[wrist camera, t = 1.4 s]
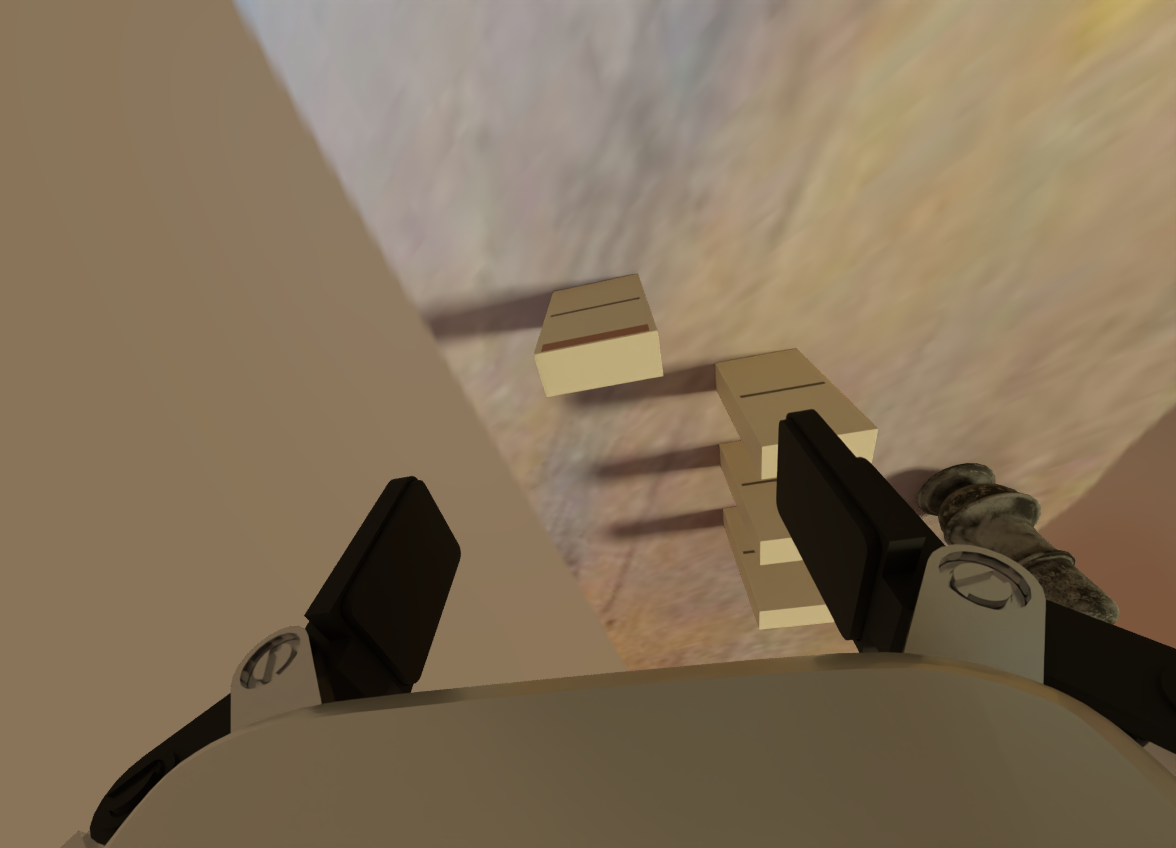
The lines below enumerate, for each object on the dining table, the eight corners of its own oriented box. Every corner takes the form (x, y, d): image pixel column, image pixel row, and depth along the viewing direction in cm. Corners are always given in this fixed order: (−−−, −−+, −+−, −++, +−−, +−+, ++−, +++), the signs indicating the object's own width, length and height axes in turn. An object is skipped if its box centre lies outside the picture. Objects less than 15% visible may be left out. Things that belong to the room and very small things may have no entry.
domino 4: (722, 508, 34) (759, 611, 26) (787, 499, 33) (844, 602, 25) (723, 525, 35) (759, 629, 27) (786, 517, 34) (840, 621, 26)
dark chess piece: (903, 520, 34) (1033, 674, 24) (926, 463, 31) (1087, 615, 21) (980, 514, 33) (1146, 670, 23) (1012, 456, 30) (1219, 608, 20)
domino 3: (719, 443, 30) (760, 541, 23) (791, 432, 29) (858, 528, 22) (720, 465, 31) (760, 565, 24) (789, 455, 30) (853, 554, 23)
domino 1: (552, 291, 24) (533, 354, 17) (637, 273, 24) (657, 330, 16) (561, 324, 25) (546, 397, 18) (642, 308, 25) (663, 376, 17)
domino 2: (715, 362, 27) (762, 446, 19) (796, 347, 26) (878, 428, 18) (716, 390, 28) (761, 479, 20) (794, 376, 27) (871, 463, 20)
